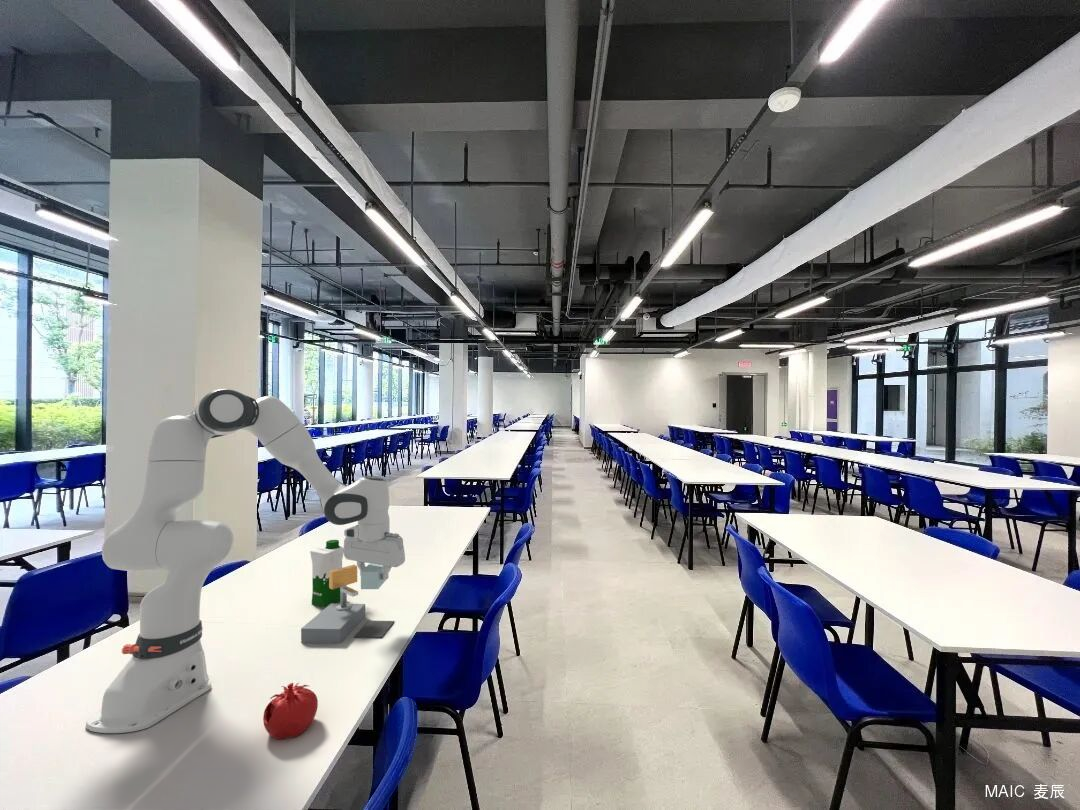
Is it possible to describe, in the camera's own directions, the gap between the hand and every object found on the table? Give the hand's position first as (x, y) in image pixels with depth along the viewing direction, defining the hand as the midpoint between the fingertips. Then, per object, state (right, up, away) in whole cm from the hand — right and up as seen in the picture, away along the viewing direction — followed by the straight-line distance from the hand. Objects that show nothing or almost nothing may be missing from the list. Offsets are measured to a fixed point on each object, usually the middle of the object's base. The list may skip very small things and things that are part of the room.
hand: (374, 577), depth 141 cm
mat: (0, -15, -1) cm, 15 cm away
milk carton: (-23, -16, +20) cm, 34 cm away
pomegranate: (-2, -15, -44) cm, 46 cm away
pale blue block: (0, -2, 0) cm, 2 cm away
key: (-9, -11, +4) cm, 15 cm away
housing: (-12, -15, 0) cm, 19 cm away
